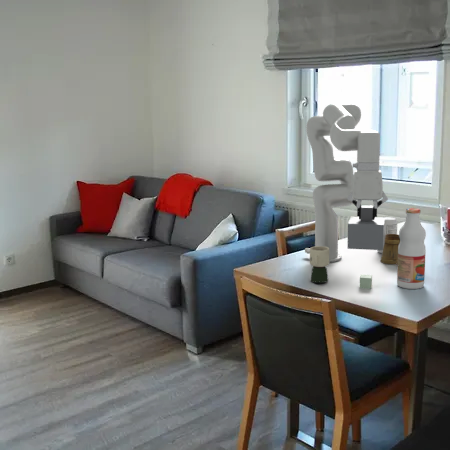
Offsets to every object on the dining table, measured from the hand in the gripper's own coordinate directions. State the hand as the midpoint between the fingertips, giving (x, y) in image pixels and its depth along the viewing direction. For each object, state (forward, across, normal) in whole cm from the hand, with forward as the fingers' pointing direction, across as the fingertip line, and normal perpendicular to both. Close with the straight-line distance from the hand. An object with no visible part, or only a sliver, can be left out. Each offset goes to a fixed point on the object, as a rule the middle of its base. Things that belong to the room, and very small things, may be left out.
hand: (367, 218), depth 213 cm
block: (+25, 0, 0) cm, 25 cm away
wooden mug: (+25, +10, +35) cm, 44 cm away
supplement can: (+25, +5, +51) cm, 57 cm away
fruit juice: (+25, +16, +4) cm, 30 cm away
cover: (+10, 0, 0) cm, 10 cm away
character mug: (+25, -17, +2) cm, 31 cm away
